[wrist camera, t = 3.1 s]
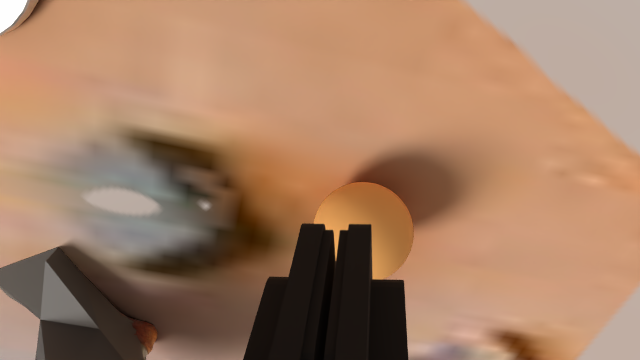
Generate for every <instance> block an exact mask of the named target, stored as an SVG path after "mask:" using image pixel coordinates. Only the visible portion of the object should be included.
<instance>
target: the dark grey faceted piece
mask: <svg viewBox="0 0 640 360" xmlns="http://www.w3.org/2000/svg"><path fill="white" fill-rule="evenodd" d="M0 288H1V289H2V290H3V291H4V292H5V293H6V294H7V295H8V296H9V297H10V298H12V299H14V300H15V301H17V302H18V303H20V304H22V305H23V306H25V307H26V308H27V309H28V310H29V311H31V312H32V313H33V314H34V315H35V316H37V317H38V318H39V319H40V327H39V335H38V343H37V351H36V359H35V360H146V355H147V354H149V353H150V352H151V350H152V348H153V344H154V342H155V341H156V339H157V330H156V329H155V327H154V325H152V324H150V323H147V322H146V321H144V322H143V321H138V320H135V319H132V318H129V317H127V316H125V315H124V314H122V313H121V312H119V311H118V310H117V309H116V308H115V307H114V306H113V305H112V304H111V303H110V302H109V301H108V300H107V299H106V298H105V297H104V296H103V295H102V293H101V292H100V291H99V290H98V289H97V288H96V287H95V286H94V285H93V284H92V283H91V282H90V281H89V280H88V279H87V278H86V277H85V276H84V275H83V274H82V273H81V271H80V270H79V269H78V268H77V267H76V266H75V265H74V264H73V263H72V262H71V260H70V259H69V258H68V257H67V256H66V255H65V254H64V253H63V252H62V250H61V249H60V248H59V247H57V248H54V249H51V250H49V251H46V252H43V253H40V254H38V255H35V256H32V257H30V258H27V259H24V260H21V261H19V262H16V263H13V264H11V265H8V266H5V267H2V268H0Z"/></svg>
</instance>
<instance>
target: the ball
mask: <svg viewBox="0 0 640 360" xmlns="http://www.w3.org/2000/svg"><path fill="white" fill-rule="evenodd" d="M314 224H325V228H326V230H333V232H334V243H335V257H337V249H338V241H339V233H340V230H348V226H349V224H371V227H372V277H373V279H381V280H382V279H384V278H387V277H388V276H390V275H392V274H393V273H394V272H396V271H397V270H398V269H399V268H400V267H401V266H402V264H403V263H404V262H405V260H406V259H407V257H408V255H409V253H410V251H411V247H412V243H413V237H414V231H413V223H412V218H411V216H410V213H409V211H408V209H407V207H406V205H405V204H404V203H403V201H402V200H401V199H400V198H399V197H398V196H397V195H396V194H395V193H393V192H392V191H391V190H389V189H387V188H386V187H384V186H381V185H378V184H375V183H369V182H356V183H351V184H347V185H345V186H342V187H340V188H338V189H337V190H335V191H333V192H332V193H331V194H330V195H329V196H328V197H327V198H326V199H325V200H324V201H323V203H322V204H321V205H320V207H319V209H318V211H317V213H316V216H315V220H314Z"/></svg>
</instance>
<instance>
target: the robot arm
mask: <svg viewBox="0 0 640 360" xmlns="http://www.w3.org/2000/svg"><path fill="white" fill-rule="evenodd" d="M38 1H39V0H0V36H2V35H4V34H6V33H8V32H10V31H12V30H13V29H15V28H17V27H18V26H19V25H20V24H21V23H22V22H23V21H25V20H26V19H27V18H28V17H29V16H30V14H31V12H32V11H33V9H34V7H35V6H36V4H37V3H38ZM243 360H408V347H407V329H406V311H405V293H404V280H381V279H373V277H372V227H371V224H349V226H348V230H340V233H339V241H338V249H337V257H335V243H334V232H333V230H326V228H325V224H302V225H301V228H300V233H299V237H298V241H297V245H296V249H295V253H294V257H293V261H292V265H291V269H290V273H289V277H269V278H268V280H267V282H266V285H265V288H264V292H263V295H262V298H261V302H260V305H259V308H258V312H257V315H256V318H255V322H254V325H253V328H252V332H251V335H250V339H249V342H248V345H247V349H246V352H245V355H244V359H243Z"/></svg>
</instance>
